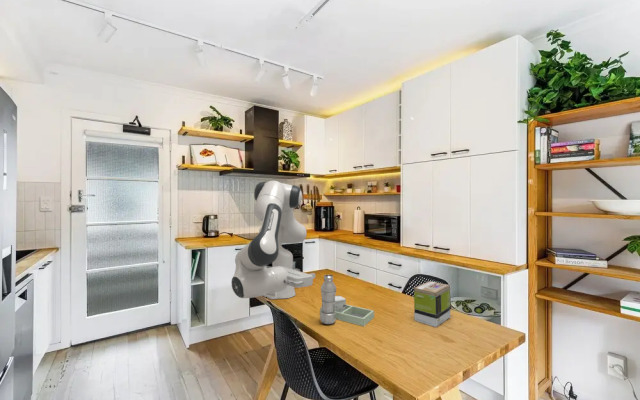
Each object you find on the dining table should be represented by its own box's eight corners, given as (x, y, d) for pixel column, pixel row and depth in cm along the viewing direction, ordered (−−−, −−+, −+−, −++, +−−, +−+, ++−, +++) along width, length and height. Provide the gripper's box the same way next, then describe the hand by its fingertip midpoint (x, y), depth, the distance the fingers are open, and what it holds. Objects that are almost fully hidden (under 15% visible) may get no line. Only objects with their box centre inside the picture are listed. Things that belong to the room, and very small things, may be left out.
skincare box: (334, 317, 131) (334, 300, 131) (327, 312, 136) (327, 296, 136) (345, 315, 134) (346, 298, 134) (339, 310, 139) (339, 294, 139)
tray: (320, 315, 133) (320, 308, 133) (332, 307, 143) (332, 301, 143) (363, 326, 122) (363, 319, 122) (374, 317, 131) (374, 310, 131)
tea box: (429, 311, 139) (429, 280, 139) (451, 318, 131) (451, 284, 131) (413, 320, 128) (413, 286, 128) (436, 328, 121) (436, 291, 121)
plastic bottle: (319, 320, 128) (319, 273, 128) (334, 319, 128) (335, 273, 128) (320, 326, 121) (321, 277, 121) (337, 326, 122) (337, 277, 122)
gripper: (294, 275, 100) (324, 269, 109) (262, 265, 115) (291, 261, 124) (294, 294, 100) (324, 286, 109) (262, 282, 115) (290, 276, 124)
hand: (306, 273), depth 117 cm, fingers open, 8 cm apart
